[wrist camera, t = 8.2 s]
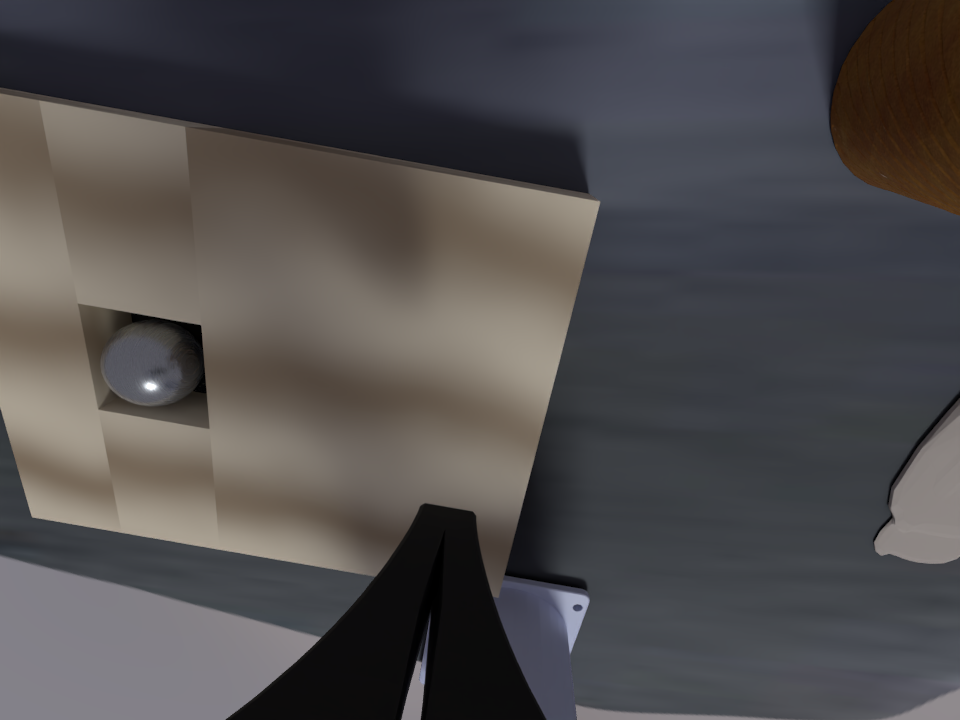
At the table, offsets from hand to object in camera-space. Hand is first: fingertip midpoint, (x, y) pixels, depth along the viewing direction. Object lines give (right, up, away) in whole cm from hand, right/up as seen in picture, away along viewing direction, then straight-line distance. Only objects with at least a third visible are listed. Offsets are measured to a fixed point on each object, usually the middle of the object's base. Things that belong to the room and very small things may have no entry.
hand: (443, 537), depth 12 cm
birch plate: (-7, +4, +9) cm, 12 cm away
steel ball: (-12, +4, +7) cm, 15 cm away
